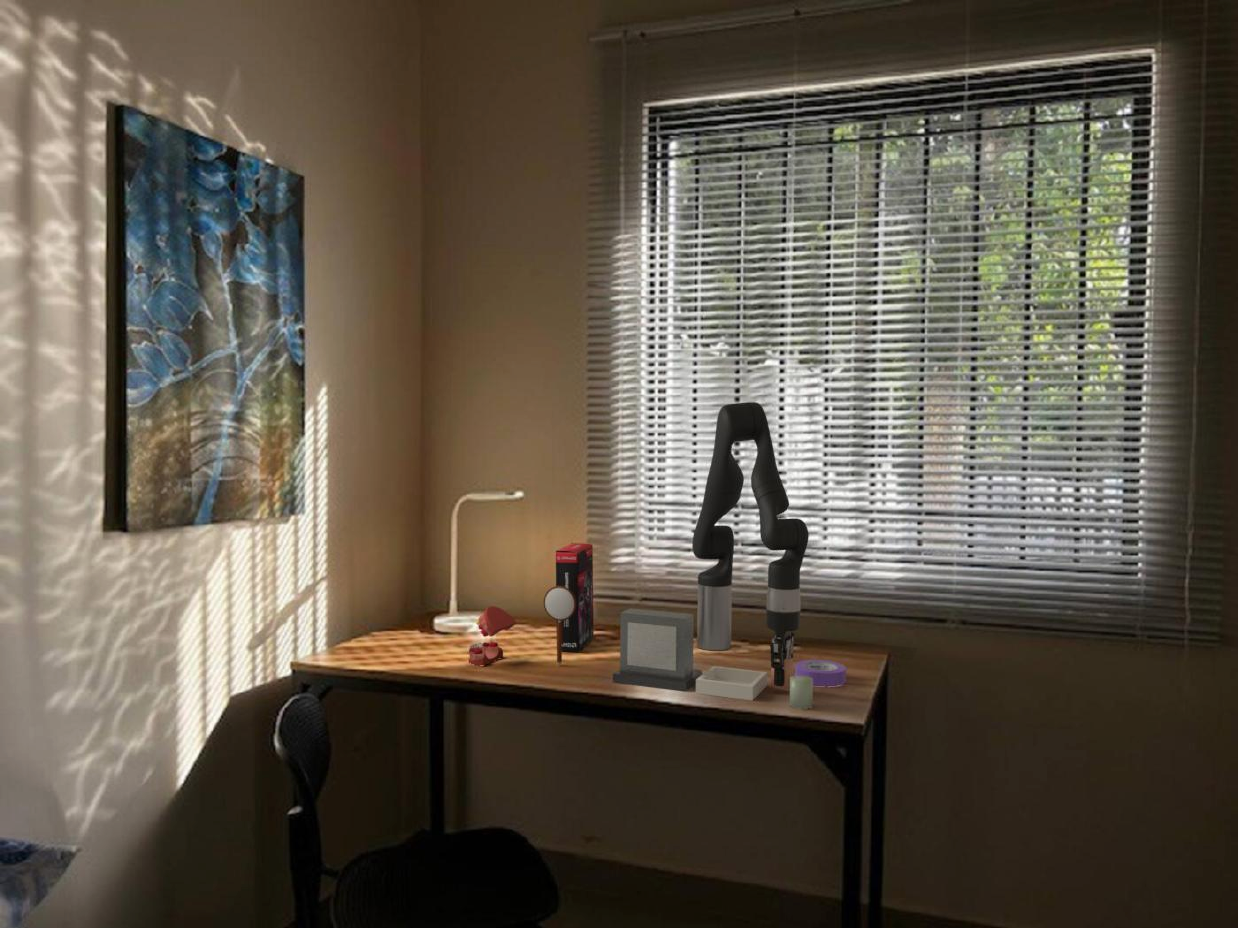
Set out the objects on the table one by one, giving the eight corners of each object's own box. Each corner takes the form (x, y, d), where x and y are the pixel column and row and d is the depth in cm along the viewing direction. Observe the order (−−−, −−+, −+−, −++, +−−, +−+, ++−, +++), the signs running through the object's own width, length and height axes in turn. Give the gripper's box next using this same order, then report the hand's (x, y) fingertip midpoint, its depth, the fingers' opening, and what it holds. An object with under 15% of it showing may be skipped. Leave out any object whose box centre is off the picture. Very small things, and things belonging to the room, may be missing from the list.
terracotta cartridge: (773, 682, 206) (774, 656, 206) (794, 684, 204) (795, 658, 204) (768, 687, 201) (769, 660, 201) (790, 690, 200) (790, 663, 199)
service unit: (632, 669, 221) (632, 605, 221) (702, 678, 214) (703, 611, 214) (612, 681, 210) (613, 613, 210) (685, 691, 203) (686, 620, 203)
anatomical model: (475, 651, 235) (494, 600, 233) (500, 665, 233) (520, 614, 230) (454, 661, 226) (474, 608, 223) (480, 676, 223) (501, 622, 220)
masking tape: (852, 688, 208) (853, 671, 208) (803, 689, 207) (803, 672, 207) (836, 675, 219) (836, 659, 219) (789, 675, 218) (789, 659, 218)
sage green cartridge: (792, 701, 196) (792, 674, 196) (814, 704, 194) (814, 676, 194) (787, 707, 192) (787, 679, 191) (810, 710, 190) (810, 682, 189)
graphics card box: (579, 653, 237) (580, 550, 236) (553, 652, 239) (554, 549, 238) (594, 639, 254) (595, 543, 253) (570, 638, 255) (571, 542, 254)
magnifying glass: (576, 666, 224) (577, 586, 223) (574, 668, 222) (574, 587, 222) (544, 663, 227) (545, 584, 226) (542, 664, 225) (542, 585, 225)
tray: (712, 679, 214) (713, 666, 213) (766, 685, 208) (767, 672, 208) (695, 693, 202) (695, 679, 201) (752, 700, 196) (752, 686, 196)
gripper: (793, 614, 194) (791, 693, 195) (806, 603, 207) (805, 676, 208) (758, 611, 197) (757, 688, 198) (774, 600, 210) (772, 672, 211)
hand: (781, 682), depth 203 cm, fingers closed on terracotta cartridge, 4 cm apart
